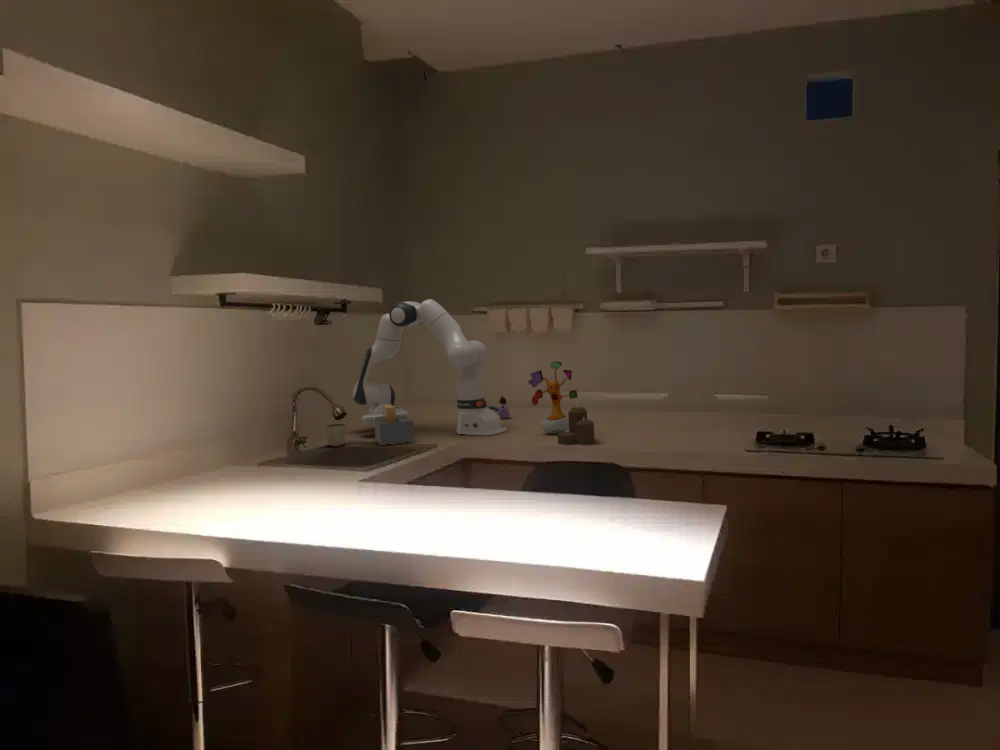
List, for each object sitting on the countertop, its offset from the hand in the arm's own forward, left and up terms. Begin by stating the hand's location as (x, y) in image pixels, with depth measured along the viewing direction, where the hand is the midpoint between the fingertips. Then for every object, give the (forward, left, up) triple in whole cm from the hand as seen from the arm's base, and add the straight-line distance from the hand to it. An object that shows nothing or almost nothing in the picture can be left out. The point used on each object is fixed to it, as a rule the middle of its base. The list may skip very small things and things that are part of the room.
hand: (389, 420), depth 359 cm
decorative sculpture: (-64, -31, -8) cm, 71 cm away
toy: (-16, -54, -8) cm, 57 cm away
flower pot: (+10, +21, -8) cm, 25 cm away
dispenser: (-8, +6, -7) cm, 13 cm away
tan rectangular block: (-2, +1, -8) cm, 8 cm away
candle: (-81, -20, -8) cm, 83 cm away
